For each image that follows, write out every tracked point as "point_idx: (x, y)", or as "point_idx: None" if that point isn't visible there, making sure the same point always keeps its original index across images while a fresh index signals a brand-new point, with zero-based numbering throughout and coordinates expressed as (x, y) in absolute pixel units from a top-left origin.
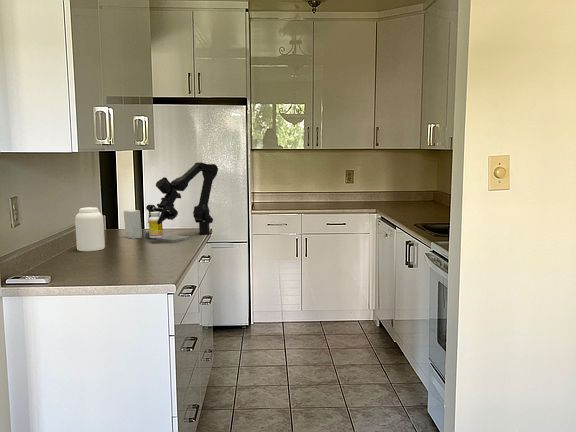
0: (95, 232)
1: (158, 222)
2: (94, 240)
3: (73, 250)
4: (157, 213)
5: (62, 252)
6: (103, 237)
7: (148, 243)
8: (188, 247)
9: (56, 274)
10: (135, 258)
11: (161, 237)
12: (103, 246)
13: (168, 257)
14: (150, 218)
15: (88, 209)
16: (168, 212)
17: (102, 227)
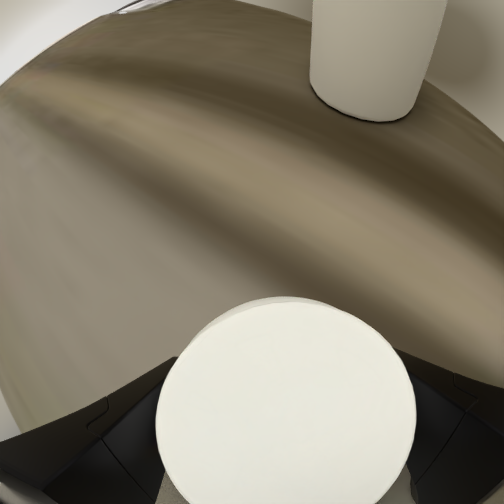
0: (312, 17)
1: (165, 366)
2: (311, 43)
3: None
4: (163, 406)
5: None
6: (331, 63)
7: None
8: (15, 360)
9: (141, 14)
10: (78, 114)
11: None
12: (325, 95)
13: (3, 183)
14: (280, 300)
15: None
16: (7, 484)
17: (332, 18)
